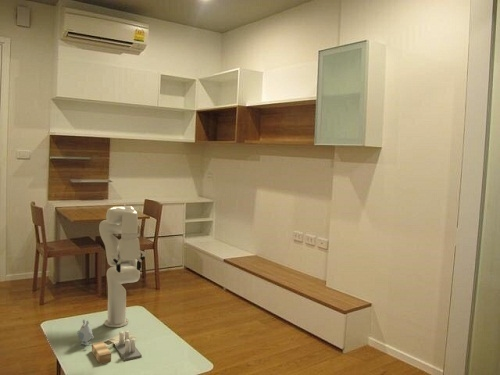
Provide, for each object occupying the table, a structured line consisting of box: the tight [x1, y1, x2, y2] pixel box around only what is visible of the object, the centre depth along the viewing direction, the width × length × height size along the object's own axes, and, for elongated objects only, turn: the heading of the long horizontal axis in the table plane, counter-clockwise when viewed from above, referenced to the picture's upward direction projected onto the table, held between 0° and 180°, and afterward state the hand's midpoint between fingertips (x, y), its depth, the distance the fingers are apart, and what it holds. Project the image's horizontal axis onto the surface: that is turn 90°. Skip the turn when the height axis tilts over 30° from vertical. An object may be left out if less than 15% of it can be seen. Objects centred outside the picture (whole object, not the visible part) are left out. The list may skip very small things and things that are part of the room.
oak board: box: [91, 341, 112, 365], centre depth 200 cm, size 14×5×4 cm, turn 33°
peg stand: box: [114, 330, 143, 362], centre depth 207 cm, size 20×8×7 cm, turn 31°
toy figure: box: [76, 319, 94, 346], centre depth 211 cm, size 11×6×12 cm, turn 63°
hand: (128, 270), depth 215 cm, fingers open, 9 cm apart
